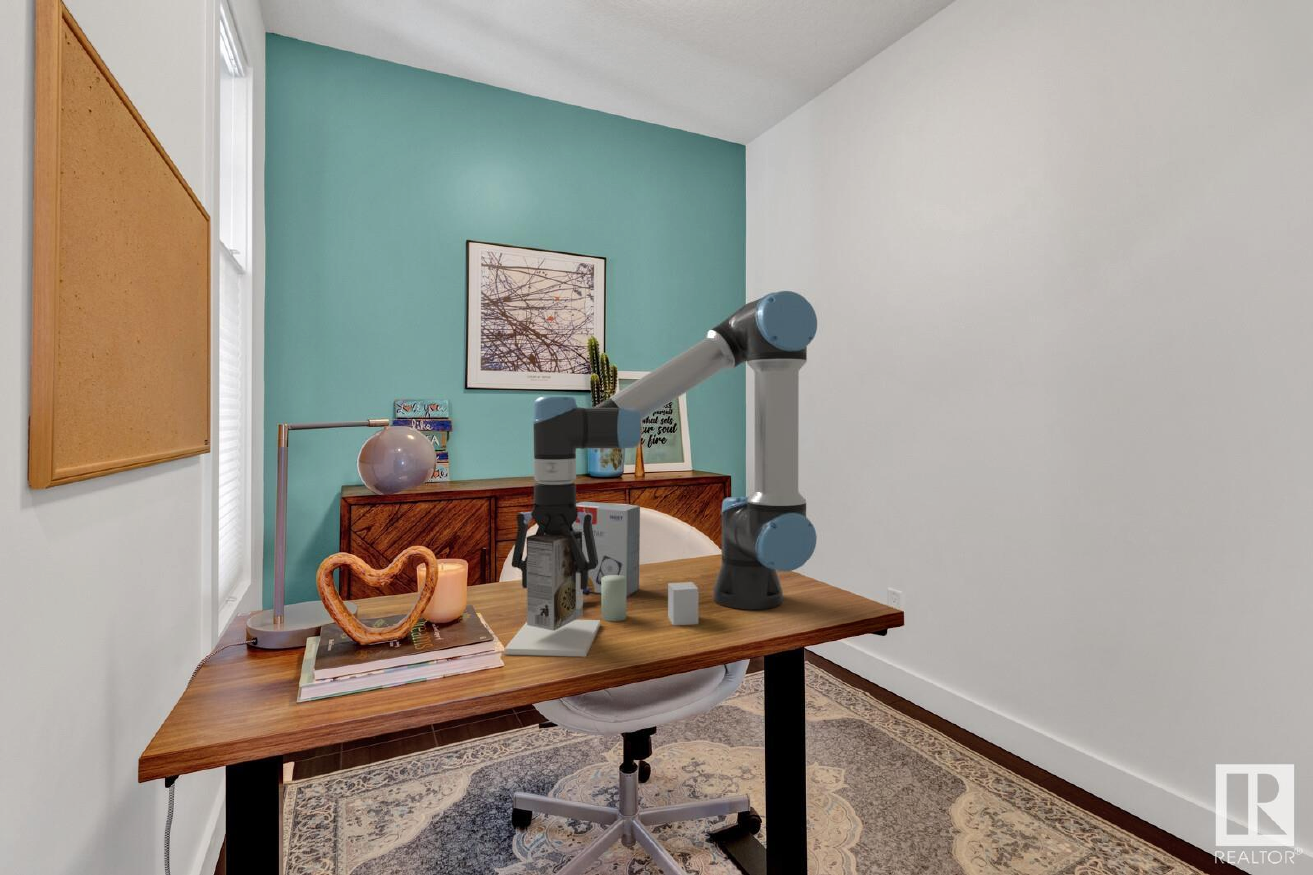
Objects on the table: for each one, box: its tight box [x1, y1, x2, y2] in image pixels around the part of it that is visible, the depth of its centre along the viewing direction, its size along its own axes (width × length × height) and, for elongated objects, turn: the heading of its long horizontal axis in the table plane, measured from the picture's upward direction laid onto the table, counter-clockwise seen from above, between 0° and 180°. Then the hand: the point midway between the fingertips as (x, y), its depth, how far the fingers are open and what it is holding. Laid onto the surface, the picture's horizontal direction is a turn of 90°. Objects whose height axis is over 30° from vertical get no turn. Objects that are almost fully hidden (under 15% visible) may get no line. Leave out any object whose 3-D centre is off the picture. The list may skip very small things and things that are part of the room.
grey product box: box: [526, 531, 584, 631], centre depth 115 cm, size 9×6×16 cm
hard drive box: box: [572, 501, 641, 598], centre depth 147 cm, size 16×8×20 cm, turn 67°
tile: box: [504, 619, 601, 658], centre depth 115 cm, size 14×16×1 cm
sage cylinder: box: [600, 575, 627, 622], centre depth 127 cm, size 5×5×8 cm
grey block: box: [667, 581, 699, 626], centre depth 126 cm, size 5×5×7 cm
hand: (555, 605), depth 115 cm, fingers closed on grey product box, 8 cm apart
